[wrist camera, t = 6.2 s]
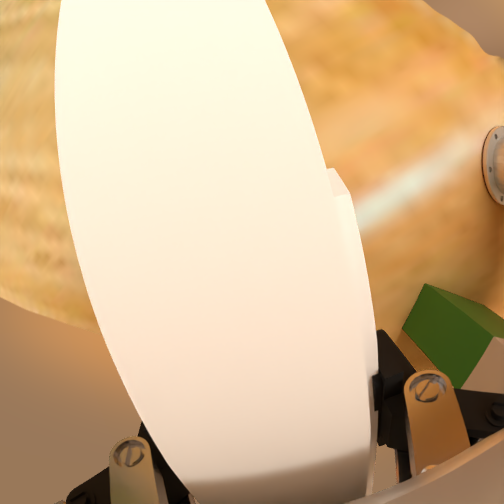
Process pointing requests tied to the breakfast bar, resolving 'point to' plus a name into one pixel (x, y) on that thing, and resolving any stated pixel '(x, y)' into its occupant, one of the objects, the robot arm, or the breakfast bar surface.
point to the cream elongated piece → (218, 248)
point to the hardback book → (459, 339)
